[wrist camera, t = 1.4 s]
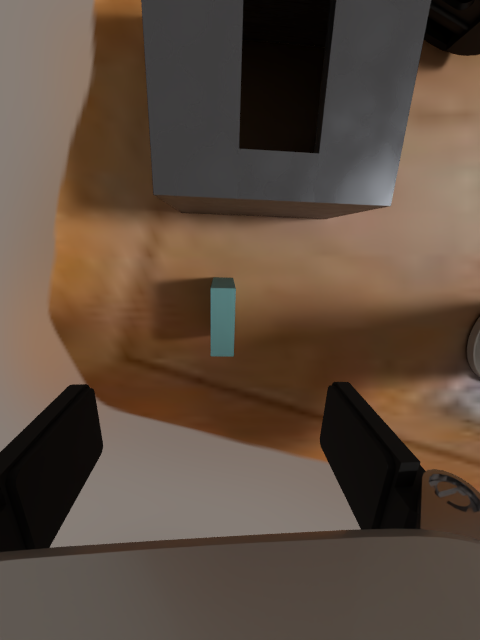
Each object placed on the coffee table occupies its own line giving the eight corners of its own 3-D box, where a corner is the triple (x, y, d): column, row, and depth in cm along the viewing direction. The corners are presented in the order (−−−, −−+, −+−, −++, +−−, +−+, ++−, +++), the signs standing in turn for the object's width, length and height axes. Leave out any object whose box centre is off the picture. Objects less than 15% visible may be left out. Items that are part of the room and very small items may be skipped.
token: (232, 277, 26) (235, 288, 20) (231, 332, 28) (233, 356, 22) (213, 277, 26) (210, 287, 20) (213, 332, 28) (210, 356, 22)
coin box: (350, 33, 20) (459, -145, 11) (326, 218, 25) (390, 206, 15) (175, 17, 20) (129, -195, 10) (181, 212, 24) (153, 194, 14)
